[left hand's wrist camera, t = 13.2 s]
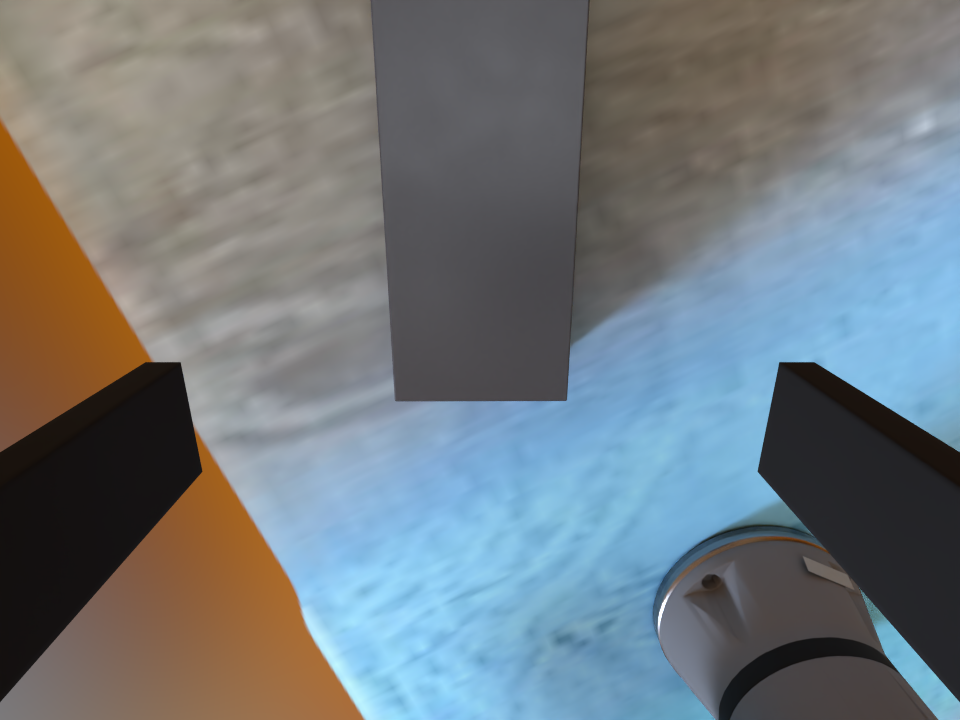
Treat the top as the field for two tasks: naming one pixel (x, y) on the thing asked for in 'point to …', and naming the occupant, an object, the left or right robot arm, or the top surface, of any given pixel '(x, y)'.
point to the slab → (480, 192)
